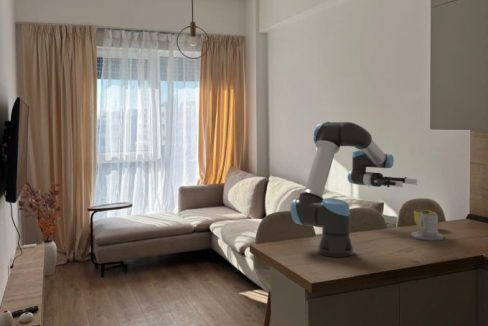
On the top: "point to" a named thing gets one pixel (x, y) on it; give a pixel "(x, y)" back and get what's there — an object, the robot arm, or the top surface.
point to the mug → (428, 224)
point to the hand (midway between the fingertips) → (409, 183)
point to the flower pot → (417, 214)
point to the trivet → (426, 238)
